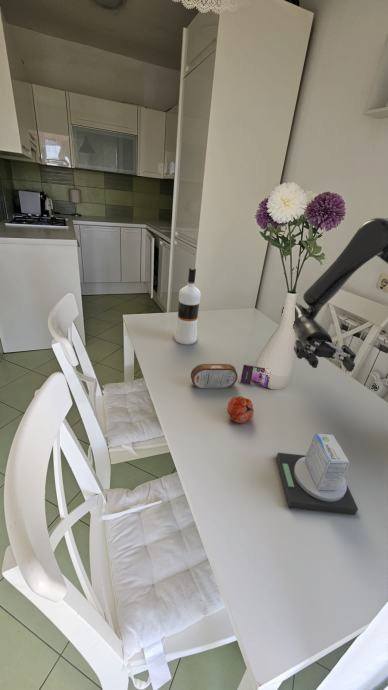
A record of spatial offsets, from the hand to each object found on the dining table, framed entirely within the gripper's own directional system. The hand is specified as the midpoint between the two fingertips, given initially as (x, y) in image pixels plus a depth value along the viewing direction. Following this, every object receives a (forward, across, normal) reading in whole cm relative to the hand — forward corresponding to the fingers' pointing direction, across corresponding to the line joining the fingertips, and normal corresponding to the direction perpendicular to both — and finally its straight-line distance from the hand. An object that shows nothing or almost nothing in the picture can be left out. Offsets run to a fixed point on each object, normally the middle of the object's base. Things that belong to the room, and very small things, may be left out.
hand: (334, 366), depth 72 cm
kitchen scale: (+15, -4, +23) cm, 28 cm away
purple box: (-24, -12, +23) cm, 35 cm away
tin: (-19, -26, +23) cm, 39 cm away
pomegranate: (-4, -19, +23) cm, 30 cm away
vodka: (-50, -37, +22) cm, 66 cm away
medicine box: (+15, -3, +19) cm, 25 cm away
